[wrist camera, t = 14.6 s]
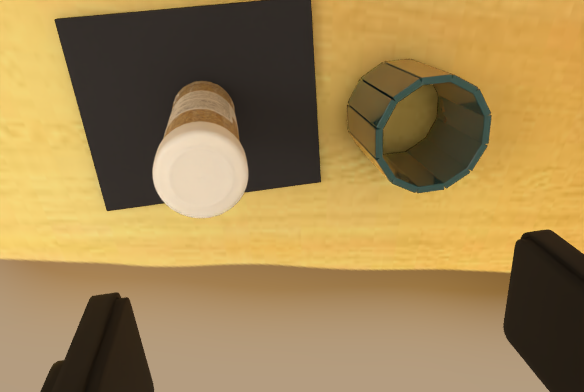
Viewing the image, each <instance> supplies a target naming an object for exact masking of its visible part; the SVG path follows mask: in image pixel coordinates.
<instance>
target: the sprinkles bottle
mask: <svg viewBox="0 0 584 392" xmlns="http://www.w3.org/2000/svg"><path fill="white" fill-rule="evenodd" d="M152 173H153V182H154V186H155V189H156V191H157V193H158V195H159V196H160V198H161V199H162V200H163V202H164V203H165V204H166V205H167V206H169V207H170V208H171V209H173V210H174V211H176V212H177V213H180V214H182V215H185V216H188V217H193V218H210V217H214V216H217V215H220V214H222V213H224V212H226V211H228V210H229V209H231V208H232V207H233V206H234V205H235V204H236V203H237V202H238V201H239V200H240V199H241V197H242V196H243V194H244V192H245V189H246V186H247V182H248V165H247V159H246V155H245V152H244V149H243V147H242V145H241V143H240V141H239V134H238V125H237V120H236V116H235V108H234V104H233V102H232V99H231V97H230V96H229V94H228V93H227V92H226V91H225V90H224V89H223V88H222V87H220V86H219V85H217V84H214V83H212V82H207V81H196V82H193V83H190V84H188V85H186V86H185V87H183V88H182V89H181V90H180V91H179V92H178V94H177V95H176V97H175V100H174V102H173V107H172V112H171V114H170V118H169V121H168V124H167V128H166V131H165V134H164V138H163V140H162V141H161V143H160V145H159V147H158V149H157V152H156V155H155V159H154V164H153V172H152Z"/></svg>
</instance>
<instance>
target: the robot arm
mask: <svg viewBox="0 0 584 392" xmlns="http://www.w3.org/2000/svg"><path fill="white" fill-rule="evenodd" d="M504 332H505V335H506V338H507V339H508V341H509V342H510V343H511V345H512V346H513V347H514V348H515V349H516V351H517V352H518V353H519V354H520V356H521V357H522V358H523V359H524V360H525V362H526V363H527V364H528V365H529V367H530V368H531V369H532V370H533V372H534V373H535V374H536V375H537V377H538V378H539V379H540V380H541V381H542V383H543V384H544V385H545V386H546V388H547V389H548V390H549V391H550V392H584V254H583V253H581V252H580V251H579V250H577V249H576V248H575V247H573V246H572V245H571V244H569V243H568V242H566V241H565V240H564V239H562V238H561V237H560V236H558V235H557V234H556V233H554V232H553V231H551V230H540V231H533V232H527V233H524V234H523V235H522V237H521V239H519V240H517V242H516V244H515V249H514V256H513V263H512V270H511V277H510V284H509V290H508V298H507V304H506V311H505V318H504ZM41 392H154V387H153V381H152V378H151V374H150V371H149V367H148V364H147V360H146V356H145V353H144V349H143V346H142V342H141V338H140V335H139V331H138V328H137V324H136V321H135V317H134V313H133V310H132V306H131V303H130V300H129V298H127V297H126V298H121V296H120V294H119V293H110V294H103V295H96V296H92V297H91V298H90V299H89V302H88V304H87V306H86V309H85V311H84V314H83V316H82V319H81V321H80V324H79V326H78V328H77V331H76V333H75V336H74V338H73V340H72V343H71V345H70V348H69V350H68V353H67V355H66V357H65V360H63V361H57V362H56V363H54V364H53V366H52V367H51V369H50V371H49V374H48V376H47V378H46V380H45V383H44V385H43V387H42V390H41Z"/></svg>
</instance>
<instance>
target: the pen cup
mask: <svg viewBox="0 0 584 392" xmlns="http://www.w3.org/2000/svg"><path fill="white" fill-rule="evenodd" d="M361 79H362V80H359V81H358V83H357V85H356V87H355V89H354V91H353V93H352V95H351V97H350V99H349V101H348V104H349V105H347V120H348V130H349V131H348V132H349V133H350V135H351V136H352V138H353V139H354V141H355V142H356V144H357V145H358V147H359V148H360V150H361V151H362V152H363V153H364V154H365V155H366V156H367V157H368V159H369V160H370V161H371V162H372V163H373V164H374V165H375V166H376V167H377V168H378V169H379V170H380V172H381V173H382V174H383V175H384V176H385V177H386V178H387V179H388V180H389V181H390V182H391V183H392V184H394V185H397V186H399V187H402V188H404V189H407V190H409V191H411V192H414V193H416V192H417V193H423V192H430V191H437V190H444V187H445V188H448V187H449V186H451V185H452V184H454V183H455V182H457V181H458V180H460V179H461V178H463V177H464V176H466V175H467V174H469V173H470V171H469V170H471V171H472V170H473V168H474V167H475V165H476V164H477V162H478V160H479V159H480V157H481V156H482V154H483V152H484V151H485V149H486V148H487V145H486V144H488V143H489V134H490V125H491V115H489V114H491V112H490V110H489V108H488V106H487V103H486V101H485V99H484V97H483V95H482V93H481V91H480V89H478V87H477V86H475V85H473V84H471V83H469V82H467V81H465V80H463V79H462V78H460V77H458V76H456V75H454V74H451V73H448V72H445V71H443V70H440V69H437V68H434V67H432V66H429V65H426V64H423V63H421V62H418V61H415V60H412V59H403V60H393V61H385V62H384V63H383V62H382V63H381V64H379V65H378V66H377V67H375V68H374V69H372V70H371V71H370V72H368V73H367V74H366V75H364V76H363V77H361ZM430 84H433V86H434V88H435V90H436V91H437V93H438V110H437V119H436V120H435V122H434V124H433V126H432V127H431V129H430V131H429V133H428V134H427V136H426V138H425V139H424V140H422V141H421V142H419V143H418V144H416V145H415V146H413V147H412V148H410V149H409V150H408V151H406V152H399V153H391V154H383V128H384V127H385V125H386V123H387V121H388V119H389V117H390V115H391V114H392V112H393V110H394V108H395V106H396V104H397V103H398V102H399V101H401V100H402V99H404V98H405V97H406V96H408V95H409V94H411V93H412V92H414V91H415V90H416V89H418V88H419V87H421V86H422V85H430Z"/></svg>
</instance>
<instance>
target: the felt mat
mask: <svg viewBox="0 0 584 392" xmlns="http://www.w3.org/2000/svg"><path fill="white" fill-rule="evenodd" d="M55 23H56V27H57V31H58V34H59V38H60V42H61V45H62V49H63V53H64V56H65V60H66V63H67V67H68V71H69V74H70V78H71V82H72V85H73V89H74V93H75V96H76V100H77V104H78V107H79V111H80V115H81V118H82V122H83V126H84V129H85V133H86V136H87V140H88V144H89V147H90V151H91V155H92V158H93V162H94V166H95V169H96V173H97V177H98V180H99V184H100V188H101V191H102V195H103V199H104V202H105V206H106V209H107V211H111V210H119V209H126V208H133V207H141V206H148V205H155V204H163V203H164V202H163V200H162V199H161V198H160V196H159V195H158V193H157V191H156V189H155V186H154V182H153V173H152V172H153V164H154V159H155V155H156V152H157V149H158V147H159V145H160V143H161V141H162V140H163V138H164V134H165V131H166V128H167V124H168V121H169V118H170V114H171V112H172V107H173V102H174V100H175V97H176V95H177V94H178V92H179V91H180V90H181V89H182V88H183V87H185V86H186V85H188V84H190V83H193V82H196V81H207V82H212V83H214V84H217V85H219V86H220V87H222V88H223V89H224V90H225V91H226V92H227V93H228V94H229V96H230V97H231V99H232V102H233V104H234V108H235V116H236V120H237V125H238V134H239V141H240V143H241V145H242V147H243V149H244V152H245V155H246V159H247V165H248V182H247V186H246V189H245V192H251V191H259V190H266V189H273V188H281V187H288V186H295V185H303V184H310V183H318V182H321V175H320V157H319V139H318V121H317V102H316V84H315V66H314V47H313V29H312V11H311V0H262V1H251V2H240V3H229V4H217V5H206V6H195V7H184V8H172V9H161V10H150V11H139V12H127V13H116V14H105V15H94V16H82V17H71V18H60V19H55Z"/></svg>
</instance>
